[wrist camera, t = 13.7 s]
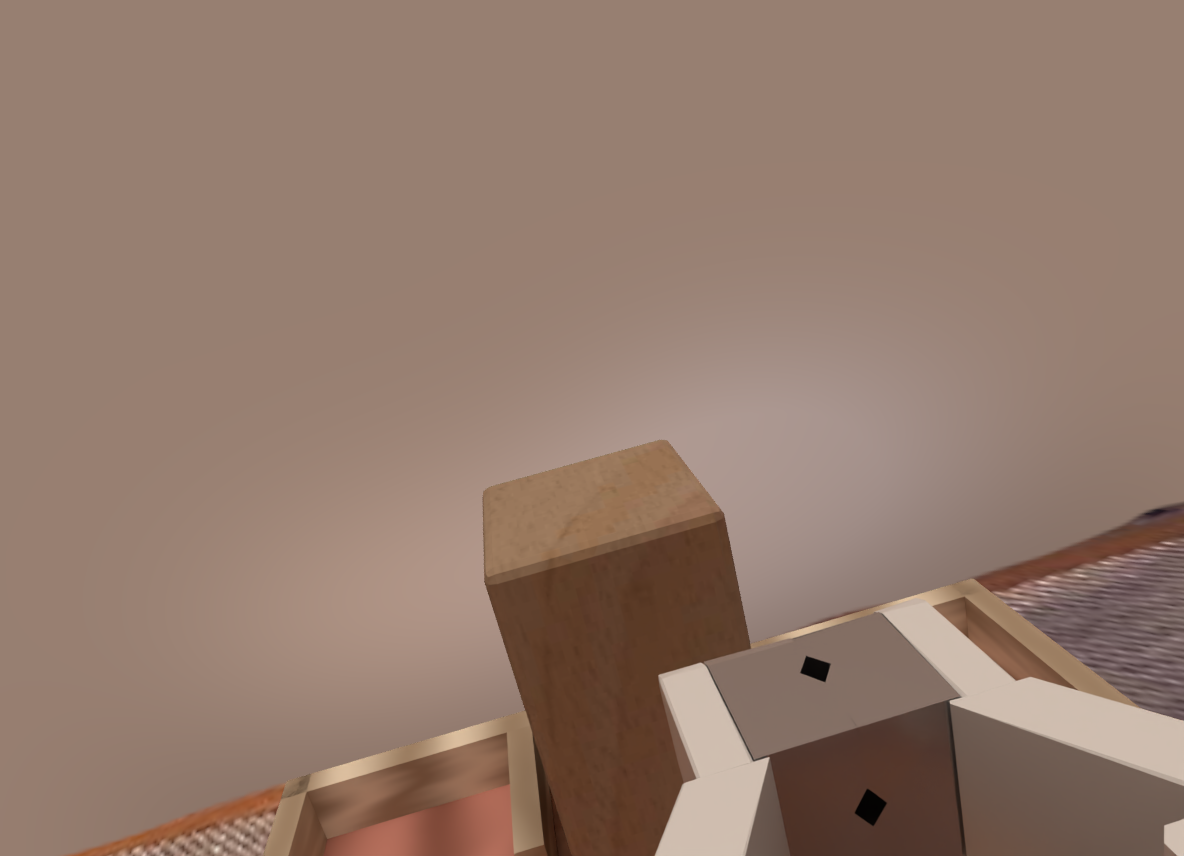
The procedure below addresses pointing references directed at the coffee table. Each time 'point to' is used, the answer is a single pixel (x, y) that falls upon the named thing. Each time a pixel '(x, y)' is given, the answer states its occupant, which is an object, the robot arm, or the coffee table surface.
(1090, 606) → the coffee table surface
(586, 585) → the wooden block
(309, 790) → the trap box
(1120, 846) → the robot arm
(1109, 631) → the coffee table surface
